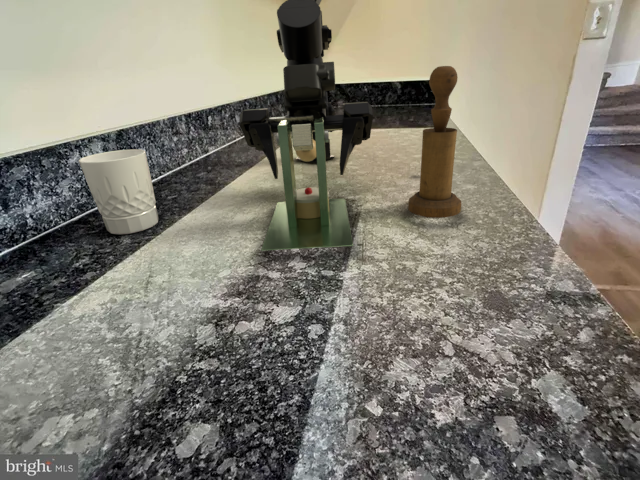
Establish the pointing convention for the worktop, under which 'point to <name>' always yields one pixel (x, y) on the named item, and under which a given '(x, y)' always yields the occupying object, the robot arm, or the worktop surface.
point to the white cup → (122, 189)
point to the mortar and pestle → (438, 154)
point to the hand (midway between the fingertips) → (308, 175)
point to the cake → (308, 203)
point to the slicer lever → (304, 142)
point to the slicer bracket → (285, 221)
